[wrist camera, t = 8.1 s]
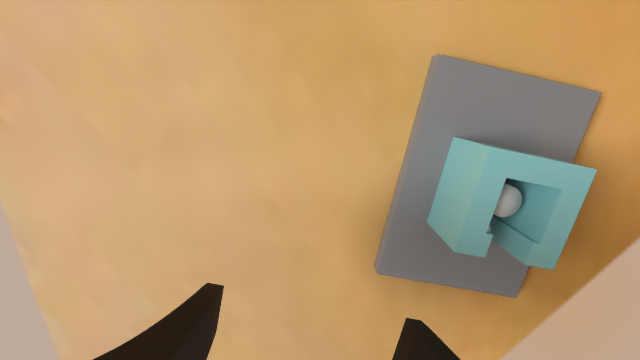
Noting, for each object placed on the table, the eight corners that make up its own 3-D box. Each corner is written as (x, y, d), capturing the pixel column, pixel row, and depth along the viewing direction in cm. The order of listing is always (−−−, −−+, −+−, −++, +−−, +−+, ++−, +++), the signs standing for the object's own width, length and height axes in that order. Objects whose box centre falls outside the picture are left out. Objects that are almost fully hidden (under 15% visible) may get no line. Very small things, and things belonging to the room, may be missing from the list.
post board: (507, 289, 23) (541, 322, 19) (373, 266, 22) (385, 296, 19) (586, 92, 19) (645, 91, 16) (432, 56, 19) (459, 47, 15)
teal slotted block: (453, 136, 19) (490, 146, 15) (540, 154, 19) (597, 169, 15) (426, 222, 20) (454, 251, 16) (508, 237, 21) (553, 270, 17)
